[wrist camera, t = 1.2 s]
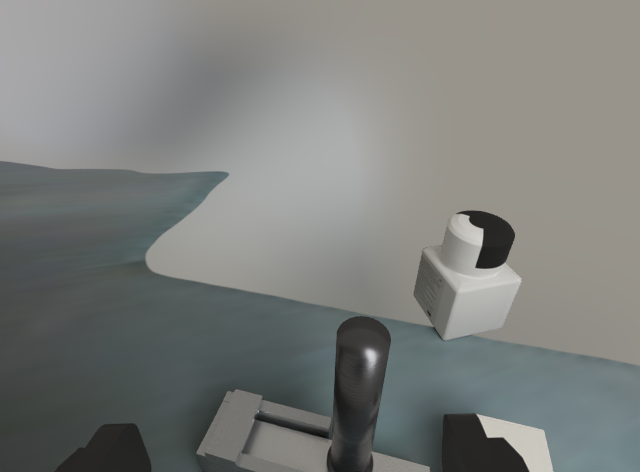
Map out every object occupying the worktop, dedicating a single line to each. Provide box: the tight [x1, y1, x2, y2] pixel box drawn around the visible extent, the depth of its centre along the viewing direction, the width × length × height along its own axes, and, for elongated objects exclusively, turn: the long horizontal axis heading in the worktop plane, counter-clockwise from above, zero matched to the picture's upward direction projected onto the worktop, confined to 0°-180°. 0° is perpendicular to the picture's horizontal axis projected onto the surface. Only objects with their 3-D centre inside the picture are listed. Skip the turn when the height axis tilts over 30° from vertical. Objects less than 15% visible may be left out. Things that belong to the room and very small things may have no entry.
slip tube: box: [242, 316, 430, 472], centre depth 25 cm, size 16×3×17 cm, turn 75°
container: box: [414, 211, 521, 340], centre depth 42 cm, size 8×8×13 cm
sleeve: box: [196, 389, 332, 472], centre depth 30 cm, size 9×5×5 cm, turn 75°
